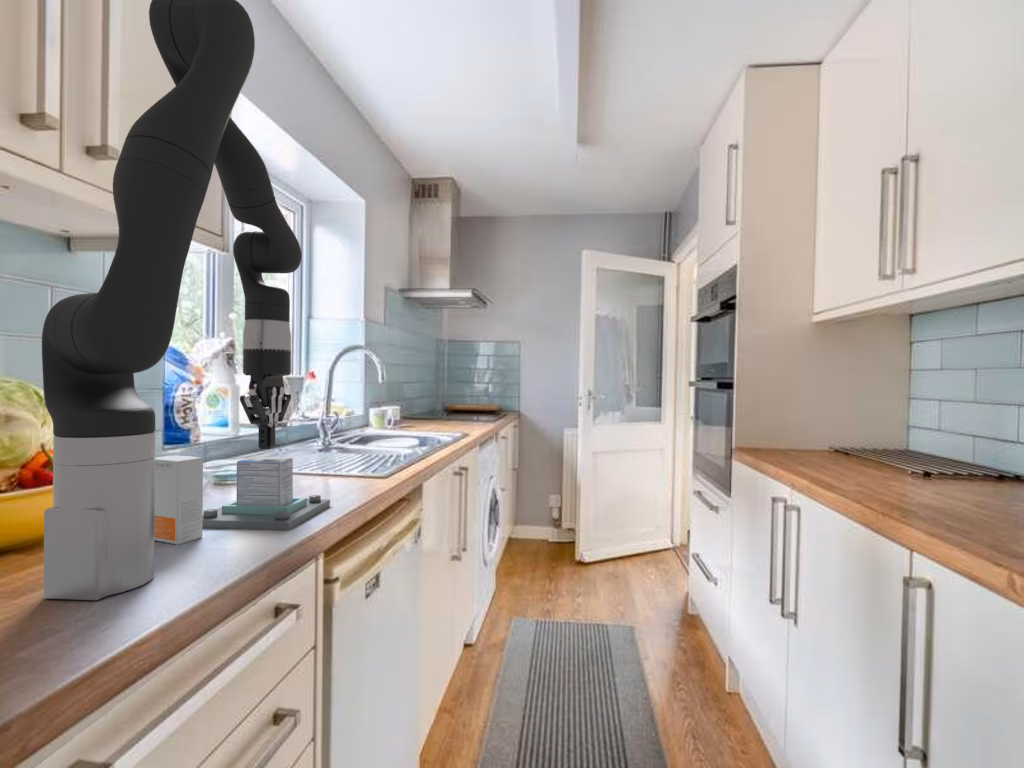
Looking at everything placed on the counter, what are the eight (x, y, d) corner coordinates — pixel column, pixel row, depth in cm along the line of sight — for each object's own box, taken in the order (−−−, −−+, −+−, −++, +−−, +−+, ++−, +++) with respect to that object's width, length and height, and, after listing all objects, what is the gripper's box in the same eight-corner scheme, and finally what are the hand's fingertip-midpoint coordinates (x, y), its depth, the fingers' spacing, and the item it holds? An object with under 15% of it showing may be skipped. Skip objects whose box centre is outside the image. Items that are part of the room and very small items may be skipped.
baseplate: (288, 530, 83) (288, 514, 83) (190, 527, 84) (190, 512, 84) (329, 505, 99) (330, 493, 99) (247, 503, 100) (247, 491, 100)
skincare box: (146, 540, 77) (147, 458, 77) (174, 532, 81) (175, 454, 81) (177, 545, 75) (177, 460, 74) (204, 537, 79) (204, 456, 78)
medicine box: (293, 506, 93) (294, 457, 93) (281, 513, 88) (281, 461, 88) (250, 505, 93) (250, 456, 93) (235, 511, 89) (235, 460, 89)
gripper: (268, 345, 84) (267, 454, 84) (306, 350, 97) (305, 444, 98) (222, 345, 85) (222, 453, 85) (266, 350, 98) (266, 443, 98)
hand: (267, 448), depth 91 cm, fingers closed
